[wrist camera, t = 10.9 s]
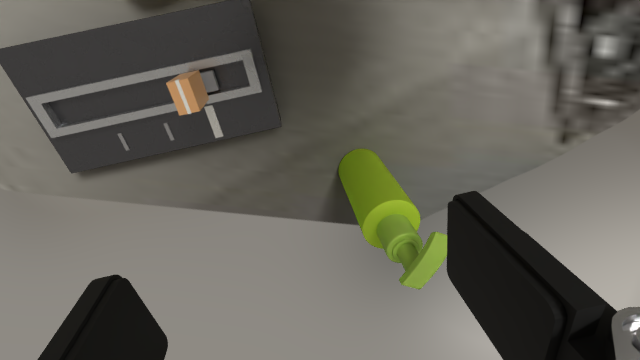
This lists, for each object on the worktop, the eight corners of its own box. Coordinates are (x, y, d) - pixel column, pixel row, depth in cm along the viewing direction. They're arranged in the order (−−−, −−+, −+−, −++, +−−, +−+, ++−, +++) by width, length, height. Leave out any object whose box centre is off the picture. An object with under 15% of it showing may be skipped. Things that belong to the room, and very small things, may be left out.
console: (11, 48, 31) (-18, 51, 28) (249, -3, 32) (247, -4, 29) (83, 164, 37) (66, 177, 34) (280, 120, 38) (281, 129, 35)
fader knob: (176, 72, 31) (154, 85, 26) (211, 64, 31) (198, 75, 26) (187, 100, 33) (169, 118, 27) (221, 92, 33) (210, 109, 27)
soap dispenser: (392, 150, 42) (478, 248, 24) (367, 192, 44) (429, 309, 27) (354, 135, 40) (417, 228, 23) (331, 179, 43) (371, 295, 25)
